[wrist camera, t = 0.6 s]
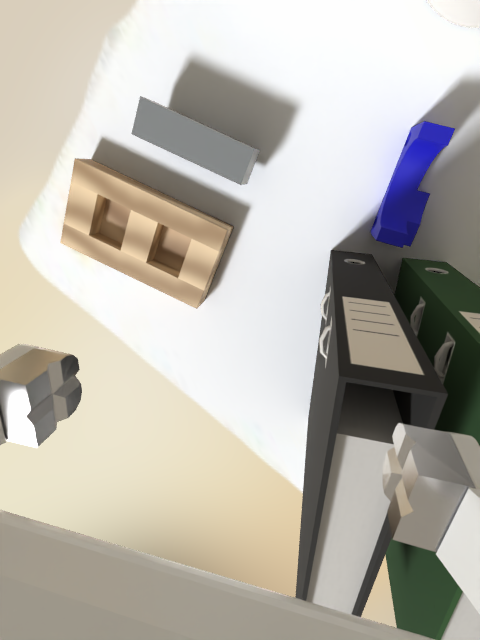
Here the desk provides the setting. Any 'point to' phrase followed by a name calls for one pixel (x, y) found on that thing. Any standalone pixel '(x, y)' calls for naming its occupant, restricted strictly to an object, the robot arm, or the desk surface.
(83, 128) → the desk surface
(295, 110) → the desk surface
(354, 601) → the binder
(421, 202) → the blue arch block
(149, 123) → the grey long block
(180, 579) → the robot arm
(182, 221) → the socket block
